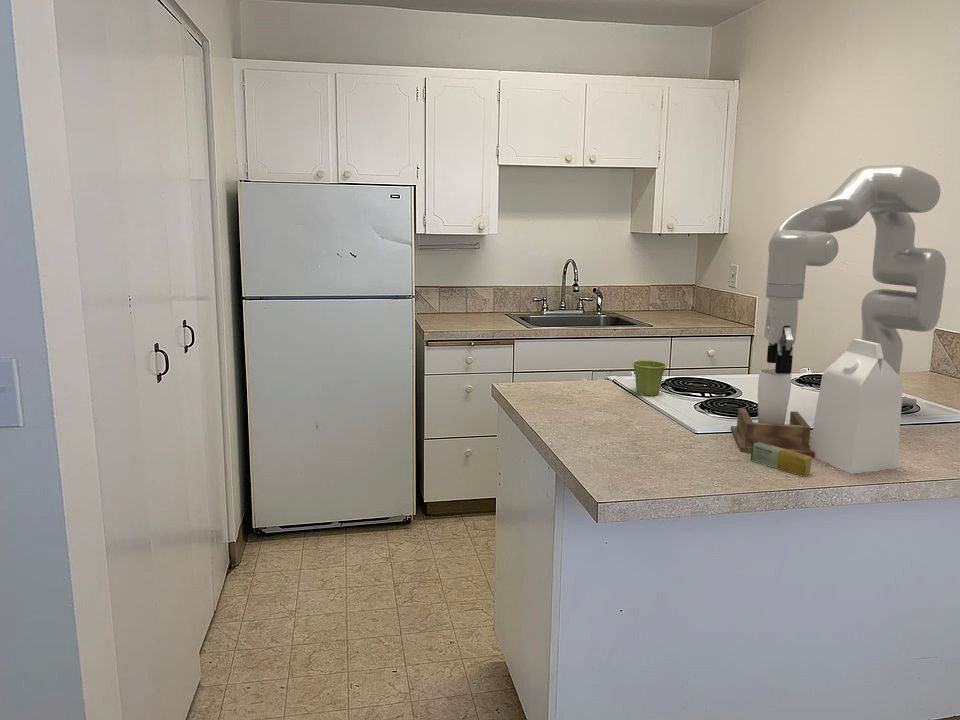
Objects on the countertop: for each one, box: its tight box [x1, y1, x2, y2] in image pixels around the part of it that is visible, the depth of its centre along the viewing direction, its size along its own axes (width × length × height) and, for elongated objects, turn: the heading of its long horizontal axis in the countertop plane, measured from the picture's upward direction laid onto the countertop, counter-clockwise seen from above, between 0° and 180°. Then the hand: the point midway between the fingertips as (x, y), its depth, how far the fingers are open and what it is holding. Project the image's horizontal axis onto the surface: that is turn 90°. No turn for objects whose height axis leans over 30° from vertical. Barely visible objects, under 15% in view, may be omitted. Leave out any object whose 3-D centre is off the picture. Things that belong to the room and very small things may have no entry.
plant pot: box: [631, 359, 667, 397], centre depth 203 cm, size 9×9×9 cm
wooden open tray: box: [730, 407, 815, 458], centre depth 162 cm, size 15×16×6 cm
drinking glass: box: [757, 368, 793, 424], centre depth 162 cm, size 7×7×15 cm
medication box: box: [750, 441, 813, 477], centre depth 148 cm, size 12×3×4 cm, turn 38°
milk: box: [809, 338, 904, 475], centre depth 149 cm, size 12×12×26 cm
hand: (778, 367), depth 160 cm, fingers open, 9 cm apart
